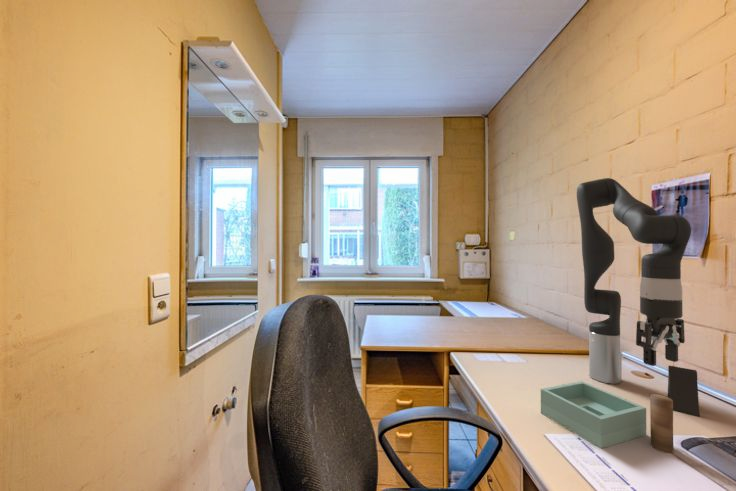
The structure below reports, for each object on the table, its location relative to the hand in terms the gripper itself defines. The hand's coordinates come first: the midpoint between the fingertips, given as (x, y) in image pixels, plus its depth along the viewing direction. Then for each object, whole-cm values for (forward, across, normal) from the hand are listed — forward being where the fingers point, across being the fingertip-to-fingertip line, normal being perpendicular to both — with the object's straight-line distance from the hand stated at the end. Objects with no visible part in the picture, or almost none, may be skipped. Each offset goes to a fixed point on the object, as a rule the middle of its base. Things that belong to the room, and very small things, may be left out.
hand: (660, 362), depth 75 cm
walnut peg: (+21, 0, 0) cm, 21 cm away
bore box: (+21, +6, -13) cm, 25 cm away
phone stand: (+21, -30, -10) cm, 38 cm away
